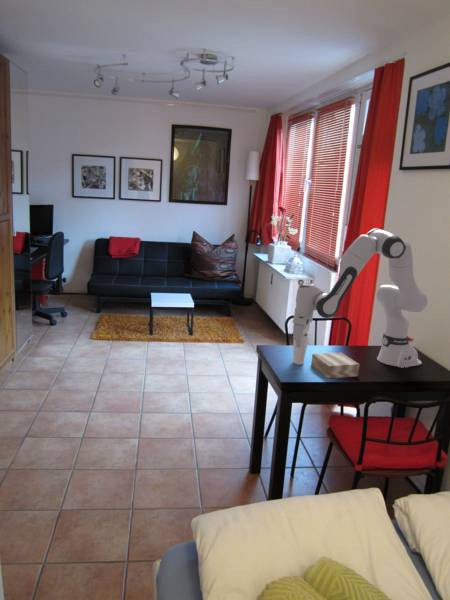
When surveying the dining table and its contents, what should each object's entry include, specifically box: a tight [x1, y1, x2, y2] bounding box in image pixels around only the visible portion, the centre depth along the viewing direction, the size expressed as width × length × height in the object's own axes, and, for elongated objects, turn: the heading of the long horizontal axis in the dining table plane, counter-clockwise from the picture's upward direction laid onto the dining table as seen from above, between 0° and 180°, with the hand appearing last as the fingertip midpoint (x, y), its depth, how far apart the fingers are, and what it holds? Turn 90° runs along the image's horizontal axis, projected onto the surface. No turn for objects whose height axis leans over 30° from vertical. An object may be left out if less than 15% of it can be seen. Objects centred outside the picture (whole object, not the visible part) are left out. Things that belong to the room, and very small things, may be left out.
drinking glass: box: [292, 332, 309, 366], centre depth 247 cm, size 7×7×15 cm
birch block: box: [310, 351, 360, 379], centre depth 242 cm, size 16×16×6 cm
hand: (300, 344), depth 246 cm, fingers open, 8 cm apart
